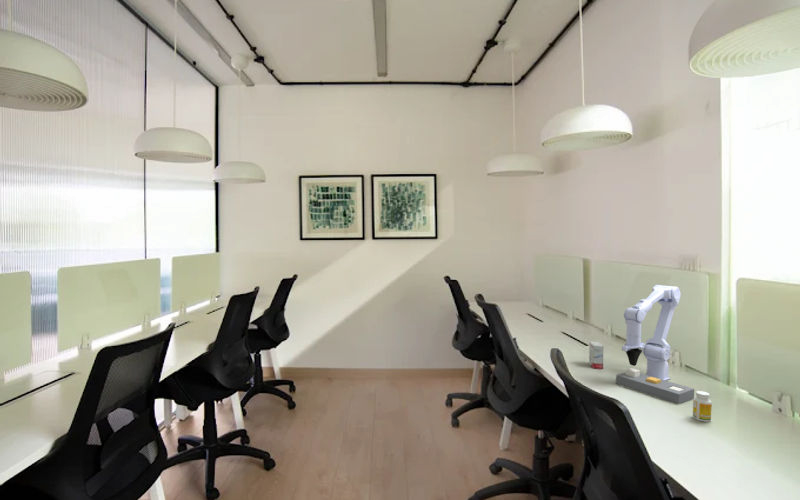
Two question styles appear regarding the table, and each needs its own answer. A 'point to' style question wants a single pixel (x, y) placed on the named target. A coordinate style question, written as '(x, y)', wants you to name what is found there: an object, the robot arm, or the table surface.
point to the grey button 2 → (676, 388)
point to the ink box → (596, 355)
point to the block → (632, 372)
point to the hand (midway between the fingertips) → (632, 365)
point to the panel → (656, 388)
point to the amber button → (653, 380)
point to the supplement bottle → (702, 406)
